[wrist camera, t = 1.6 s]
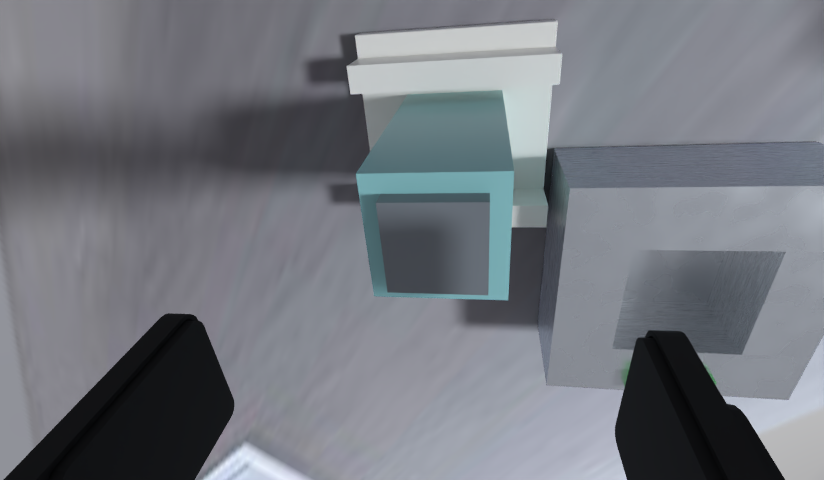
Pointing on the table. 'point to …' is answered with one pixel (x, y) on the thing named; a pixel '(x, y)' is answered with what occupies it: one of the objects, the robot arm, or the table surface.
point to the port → (685, 261)
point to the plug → (440, 198)
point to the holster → (470, 87)
